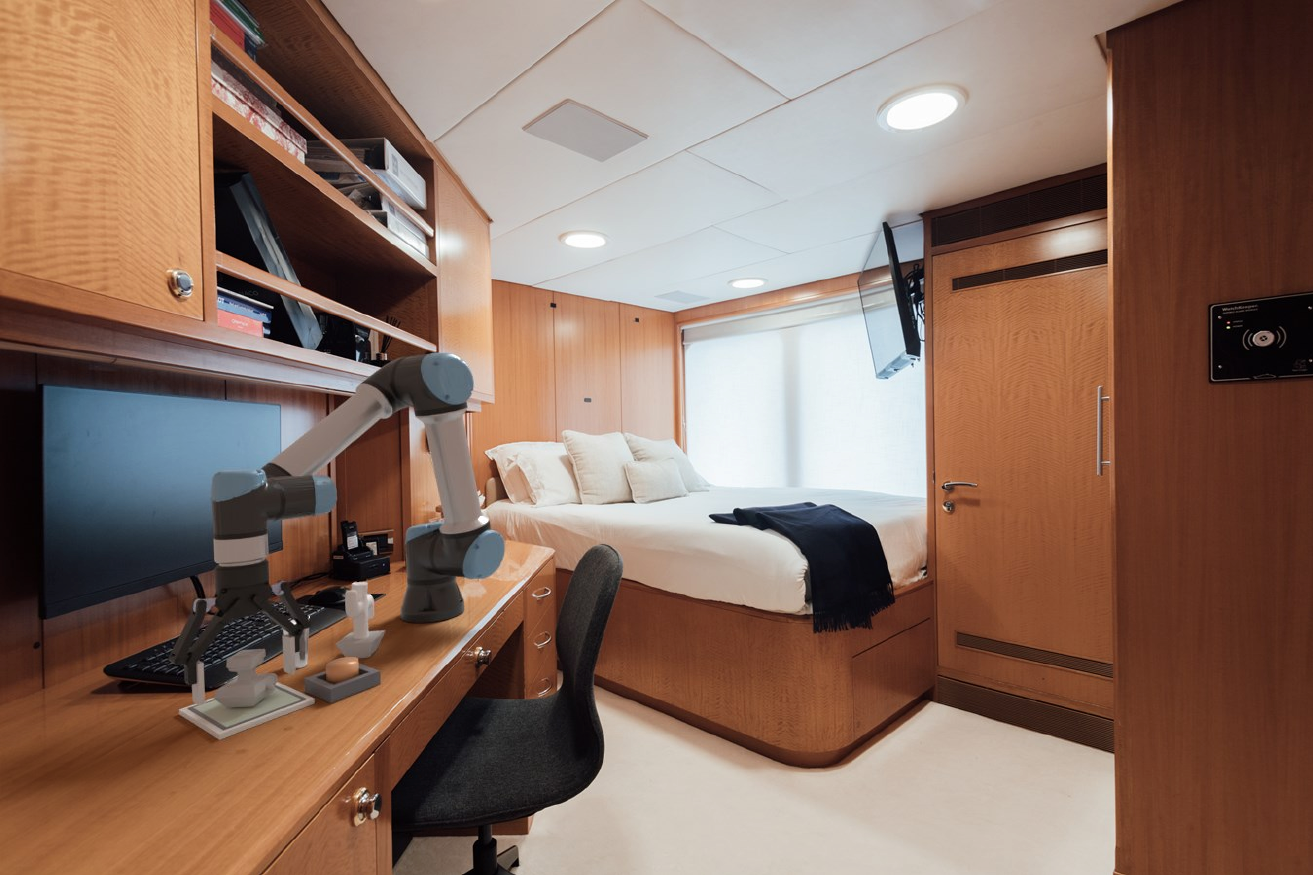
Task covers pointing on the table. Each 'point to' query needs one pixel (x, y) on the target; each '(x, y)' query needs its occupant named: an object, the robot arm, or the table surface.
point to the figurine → (360, 624)
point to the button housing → (342, 684)
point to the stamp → (246, 680)
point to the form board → (245, 712)
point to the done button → (342, 670)
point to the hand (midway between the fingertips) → (246, 686)
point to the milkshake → (301, 648)
